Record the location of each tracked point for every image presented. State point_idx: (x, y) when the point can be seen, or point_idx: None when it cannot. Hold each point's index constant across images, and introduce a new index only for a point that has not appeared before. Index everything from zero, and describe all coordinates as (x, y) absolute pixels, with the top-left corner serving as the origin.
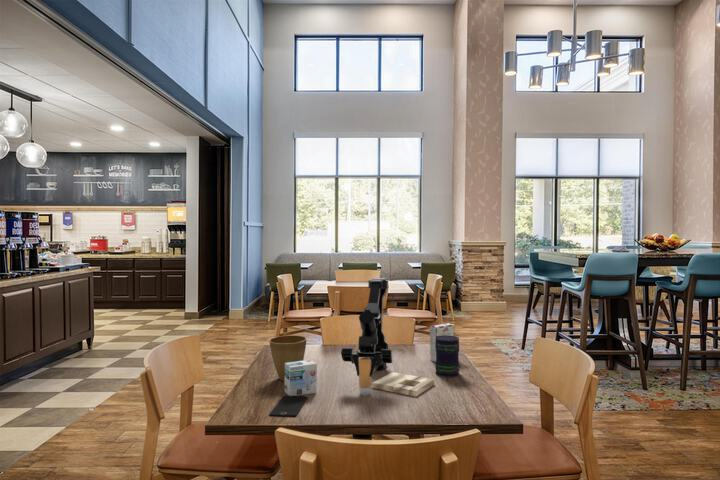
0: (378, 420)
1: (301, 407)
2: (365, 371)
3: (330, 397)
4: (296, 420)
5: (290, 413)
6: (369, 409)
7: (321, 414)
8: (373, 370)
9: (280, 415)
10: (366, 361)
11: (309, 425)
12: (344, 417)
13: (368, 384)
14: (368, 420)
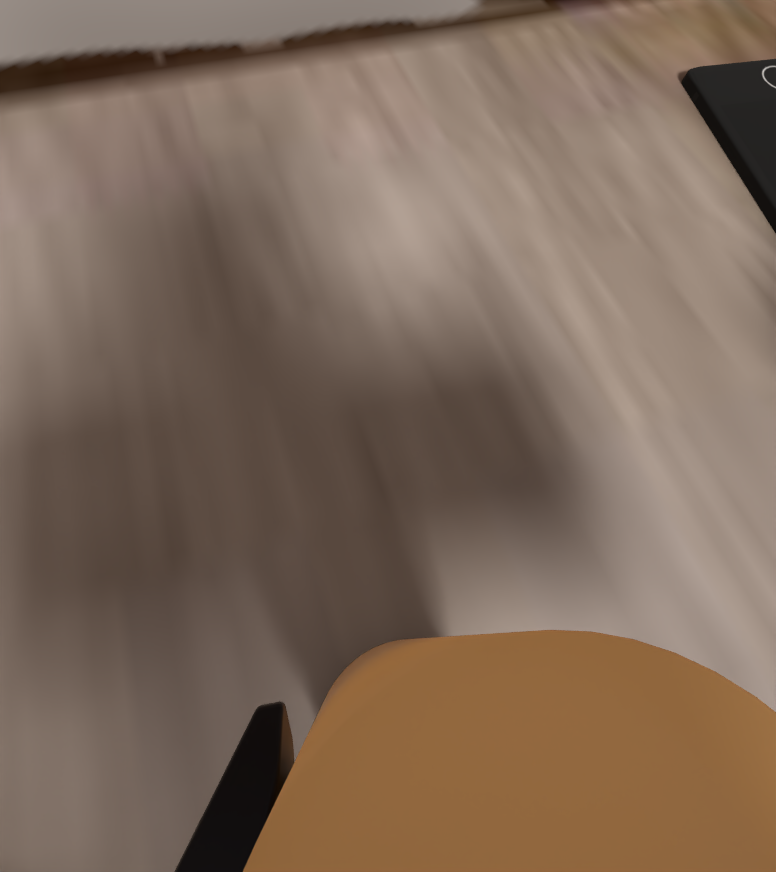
0: (114, 132)
1: (757, 194)
2: (392, 649)
3: (704, 471)
4: (642, 44)
5: (737, 81)
6: (227, 294)
7: (553, 138)
8: (192, 853)
9: (772, 61)
10: (383, 690)
11: (530, 9)
12: (376, 128)
13: (334, 683)
14: (190, 120)
